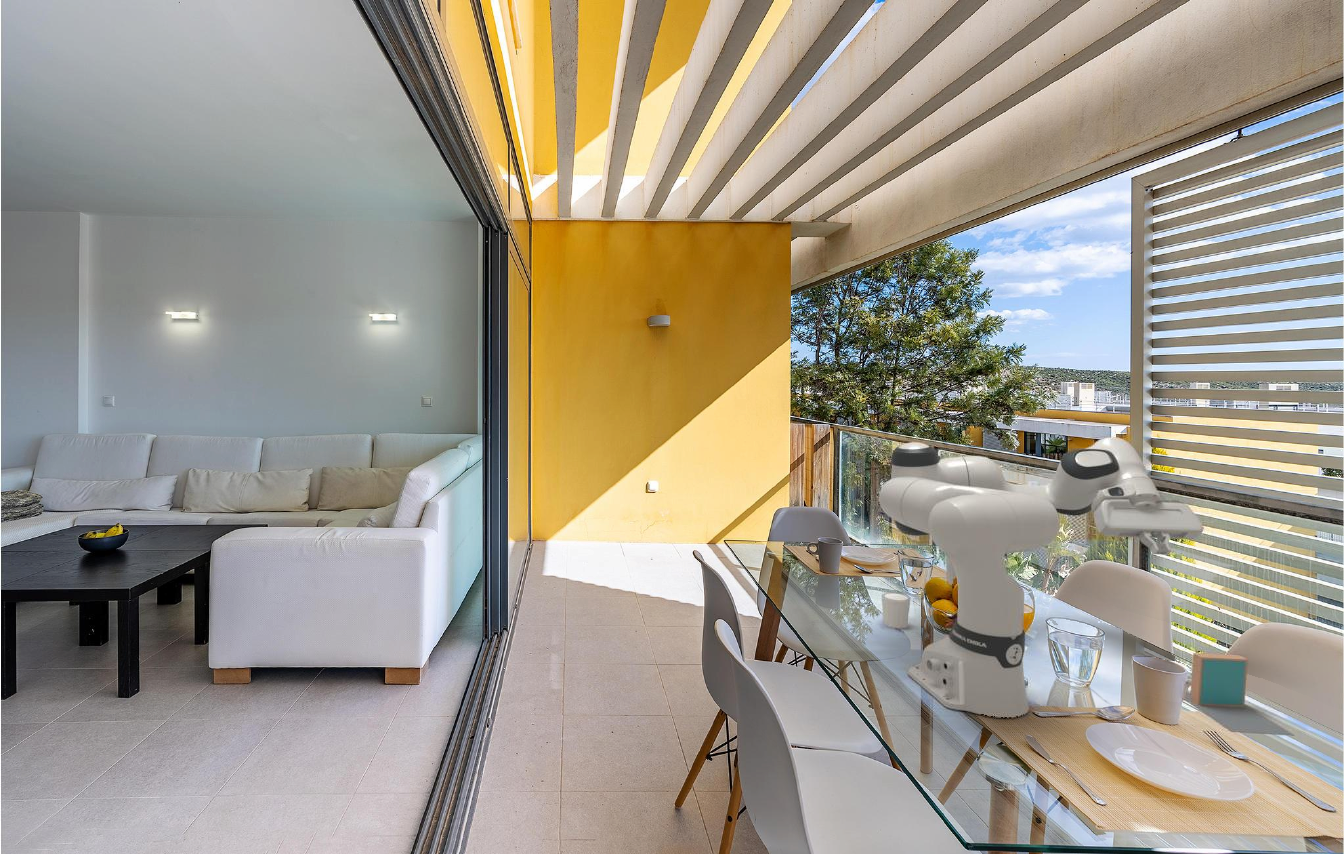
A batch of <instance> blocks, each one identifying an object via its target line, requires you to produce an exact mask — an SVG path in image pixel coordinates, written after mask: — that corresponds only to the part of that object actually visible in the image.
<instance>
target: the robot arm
mask: <svg viewBox="0 0 1344 854" xmlns="http://www.w3.org/2000/svg"><path fill="white" fill-rule="evenodd" d="M890 464H891V472H890V474H891V475H890V476H891V477H890V479H889V480H888V481H886V482H885V483H884V484H883V485H882V487H881V489H880V491H879V493H878V494H879V495H878V501H879V502H878V503H879V506H880V509H881V510H882V511H883V512H884V514H886V515H887V516H888V517H889V518H891V519H892V520H893V521H894V524H895V526H896V529H897V530H898V531H900V532H901V533H902V534H903V535H904V534H905V535H908V536H914V537H922V536H926V535H927V536H928V535H930V538H931V540H932V542H934V545H936V547H937V548H938V549H939V550H941V551H942V552H943V553H944V554H945V555H946V557H947V556H948V558H949V559H950V561H951V563H952V565H953V568H954V571H955V574H956V578H957V585H958V611H957V614H956V618H955V619H949V620H945V622H946V623H947V624H945V627H950V626H951V628H950V630H949V633H948V635H946V636H944V637H942V638H940V639H938V640H936V641H934V642H932V643H930V644H928V645H926V647H925V648H923V652H922V655H921V661H920V663H918V664H915V665H912V666H911V667H909V668H908V670H907V675H908V676H909V677H910V678H912V679H913V680H914V682H916V683H917V684H919V686H921V687H922V689H924V690H926V691H927V692H928V693H929V694H930V695H931V696H932V697H933V698H935V699H936V700H937V701H938V702H939V703H941V704H942V705H943V706H944V707H945V708H947V709H951V710H956V711H966V712H969V713H974V714H977V715H981V714H984V715H983V716H985V715H987V716H986V717H991V716H993V717H992V718H1001V717H1003V718H1004V717H1007V719H1008V718H1009V717H1011V718H1017V717H1016V716H1018V717H1022V716H1024V715H1025V714H1027V713H1028V712H1029V710H1030V705H1029V700H1028V697H1027V688H1026V685H1025V684H1026V683H1025V674H1024V673H1025V672H1024V661H1023V658H1024V653H1025V648H1026V647H1025V646H1026V636H1025V635H1026V632H1025V630H1024V612H1025V591H1024V588H1023V586H1022V585H1021V584H1020V583H1019V582H1018V581H1017V580H1016V579H1015V578H1013V577H1012V576H1010V575H1009V574H1008V572H1007V569H1006V563H1005V554H1012V553H1013V554H1015V553H1024V552H1025V553H1026V552H1031V551H1034V550H1037V549H1040V548H1042V547H1045V546H1048V545H1050V544H1051V543H1053V542H1054V541H1055V540H1056V538H1057V536H1058V535H1059V532H1060V527H1061V525H1060V524H1061V523H1060V516H1059V514H1061V515H1065V516H1066V515H1067V516H1073V517H1074V516H1075V517H1076V516H1083V515H1085V514H1087V513H1089V512H1090V511H1093V520H1094V524H1095V527H1096V529H1097V532H1098V533H1099V534H1100V535H1102V536H1103V537H1109V538H1110V537H1113V538H1138V540H1139V541H1140V542H1141V543H1142V544H1143V545H1144V546H1146V547H1147V548H1149V550H1150V552H1151V555H1161V556H1162V555H1163V556H1164V555H1165V556H1168V555H1169V554H1171V553H1172V551H1171V550H1172V549H1171V547H1170V545H1169V542H1170V539H1172V540H1173V539H1175V540H1176V539H1177V540H1178V539H1179V540H1195V539H1198V537H1199V536H1200V535H1201V534H1202V533H1203V532H1204V529H1205V527H1204V525H1203V524H1202V521H1200V519H1199V517H1198V516H1197V515H1196V513H1195V512H1194V511H1193V510H1192V509H1191V507H1190V506H1189V505H1188V503H1184V502H1182V501H1180V500H1179V499H1162V496H1161V495H1160V492H1159V491H1158V489H1157V487H1156V486H1155V483H1154V481H1153V480H1152V479H1151V477H1150V476H1148V474H1147V470H1146V465H1145V464H1144V462H1143V459H1141V457H1140V455H1139V454H1138V452H1137V451H1136V449H1135V448H1134V447H1133V446H1132V444H1130V443H1129V442H1128V441H1127V440H1125V439H1123V438H1120V437H1116V436H1115V437H1113V436H1112V437H1111V436H1110V437H1105V438H1104V437H1103V438H1101V439H1099V440H1097V441H1095V442H1094V443H1093V445H1090V446H1089V447H1085V448H1077V449H1072V450H1069V451H1067V452H1065V453H1064V455H1062V457H1061V459H1060V460H1059V463H1058V466H1057V469H1056V472H1055V475H1054V477H1053V480H1051V481H1050V482H1049V483H1047V484H1044V485H1037V484H1036V485H1035V484H1015V483H1011V482H1009V481H1007V480H1006V479H1005V477H1004V474H1003V471H1002V470H1001V468H1000V467H999V465H998V464H997V463H996V462H995V461H994V460H992V459H990V458H989V457H986V456H981V455H966V456H964V455H963V456H954V457H953V456H952V457H945V458H941V455H939V454H938V451H937V450H936V449H935V448H934V447H933V446H932V445H930V444H926V443H923V442H917V441H913V442H907V443H904V444H902V445H898V446H896V448H894V449H893V450H892V453H891V457H890ZM1154 539H1157V542H1160V543H1157V542H1156V541H1155V540H1154ZM1023 714H1024V715H1023ZM1021 715H1022V716H1021ZM994 716H995V717H994Z"/></svg>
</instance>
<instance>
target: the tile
mask: <svg viewBox="0 0 1344 854" xmlns="http://www.w3.org/2000/svg"><path fill="white" fill-rule="evenodd" d="M1192 653H1193V654H1192V655H1193V656H1192V668H1191V681H1190V683H1191V685H1190V693H1191V696H1190V700H1191V701H1193V702H1194V703H1196V704H1197V705H1208V706H1227V707H1244V704H1245V703H1246V702H1245V701H1246V688H1247V675H1248V674H1247V673H1248V664H1249V663H1248V662H1249V659H1248V658H1245V657H1244V656H1242V655H1239V654H1224V653H1222V654H1221V653H1217V654H1216V653H1205V652H1204V653H1202V652H1201V653H1200V652H1192ZM1245 705H1246V704H1245Z"/></svg>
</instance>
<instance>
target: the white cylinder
mask: <svg viewBox="0 0 1344 854" xmlns="http://www.w3.org/2000/svg"><path fill="white" fill-rule="evenodd" d="M911 601H912V598H911V597H910V596H909V595H907V594H903V593H899V592H885V593H882V594H881V606H882V623H883V625H884V626H886V627H888V628H892V629H893V628H894V629H905V628H907V627H908V623H909V622H908V621H909V614H910V609H911V608H910V607H911Z"/></svg>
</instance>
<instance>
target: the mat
mask: <svg viewBox="0 0 1344 854" xmlns="http://www.w3.org/2000/svg"><path fill="white" fill-rule="evenodd" d="M1185 693H1186V696H1185V698H1184V699H1183V700H1184V701H1185V702H1186V703H1189V704H1190V705H1191V706H1193V707H1194V708H1195V709H1197V710H1199V711H1200V712H1201V713H1203V714H1205V715H1206V716H1207V717H1209V718H1210V719H1212V720H1213V721H1215V722H1216V723H1217V724H1219V725H1221V726H1222V727H1223V728H1225V729H1227V730H1228V731H1230V732H1231V733H1245V734H1246V733H1248V734H1262V735H1263V734H1264V735H1279V736H1280V735H1281V736H1294V734H1293V733H1292V732H1290V731H1288V730H1287V729H1285V728H1284V727H1283V726H1280V725H1279V724H1277V723H1276V722H1274V721H1272V720H1271V719H1269V718H1267V717H1266V716H1265V715H1263V714H1261V713H1259V712H1257V711H1255V710H1254V709H1253V708H1251V707H1249V706H1248V705H1246V704H1244V707H1227V706H1208V705H1197V704H1196V703H1194V702H1193V701H1191V700H1190V696H1191V692H1185Z"/></svg>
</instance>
